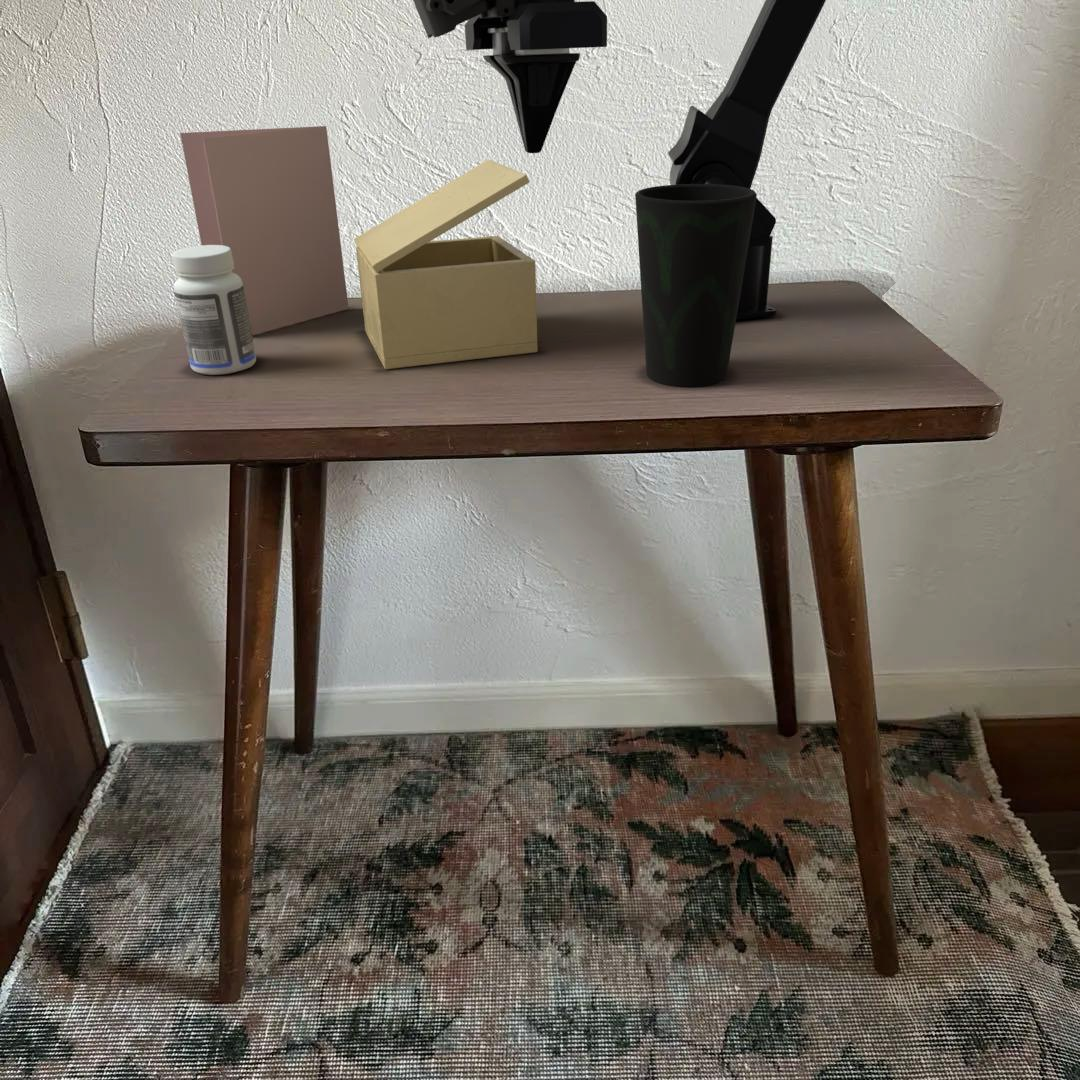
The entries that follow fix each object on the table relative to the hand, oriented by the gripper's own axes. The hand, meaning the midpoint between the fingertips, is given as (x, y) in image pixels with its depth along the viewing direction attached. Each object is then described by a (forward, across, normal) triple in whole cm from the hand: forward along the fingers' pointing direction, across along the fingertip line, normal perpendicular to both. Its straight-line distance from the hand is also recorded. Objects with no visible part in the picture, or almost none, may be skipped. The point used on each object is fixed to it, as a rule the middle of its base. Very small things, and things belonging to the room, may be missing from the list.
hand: (533, 152), depth 74 cm
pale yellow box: (+13, +6, -9) cm, 17 cm away
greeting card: (+13, -5, -21) cm, 25 cm away
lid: (+3, +6, -9) cm, 11 cm away
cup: (+13, +19, +5) cm, 24 cm away
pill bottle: (+13, +6, -26) cm, 30 cm away
